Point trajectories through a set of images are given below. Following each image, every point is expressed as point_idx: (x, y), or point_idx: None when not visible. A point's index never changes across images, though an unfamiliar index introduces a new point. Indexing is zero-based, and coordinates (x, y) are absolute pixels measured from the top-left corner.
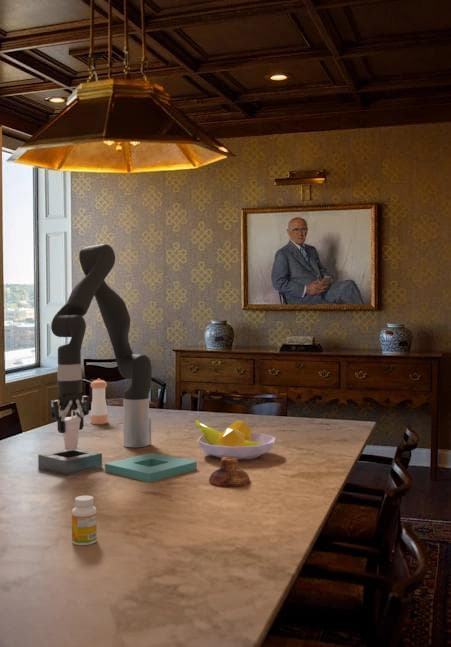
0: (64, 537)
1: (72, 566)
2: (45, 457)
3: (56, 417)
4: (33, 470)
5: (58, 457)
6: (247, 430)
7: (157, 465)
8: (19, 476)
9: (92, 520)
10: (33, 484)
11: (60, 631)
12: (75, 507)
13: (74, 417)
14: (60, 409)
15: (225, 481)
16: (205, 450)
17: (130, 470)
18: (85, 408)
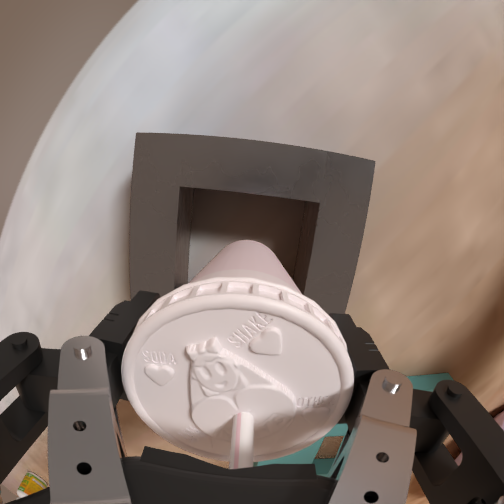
0: (24, 463)
1: (20, 479)
2: (132, 196)
3: (27, 407)
4: (131, 143)
5: (152, 271)
6: None
7: (326, 475)
8: (56, 182)
9: None
10: (42, 298)
11: (5, 486)
12: (18, 495)
13: (280, 418)
14: (69, 439)
15: None
16: None
17: (257, 462)
18: (426, 481)
